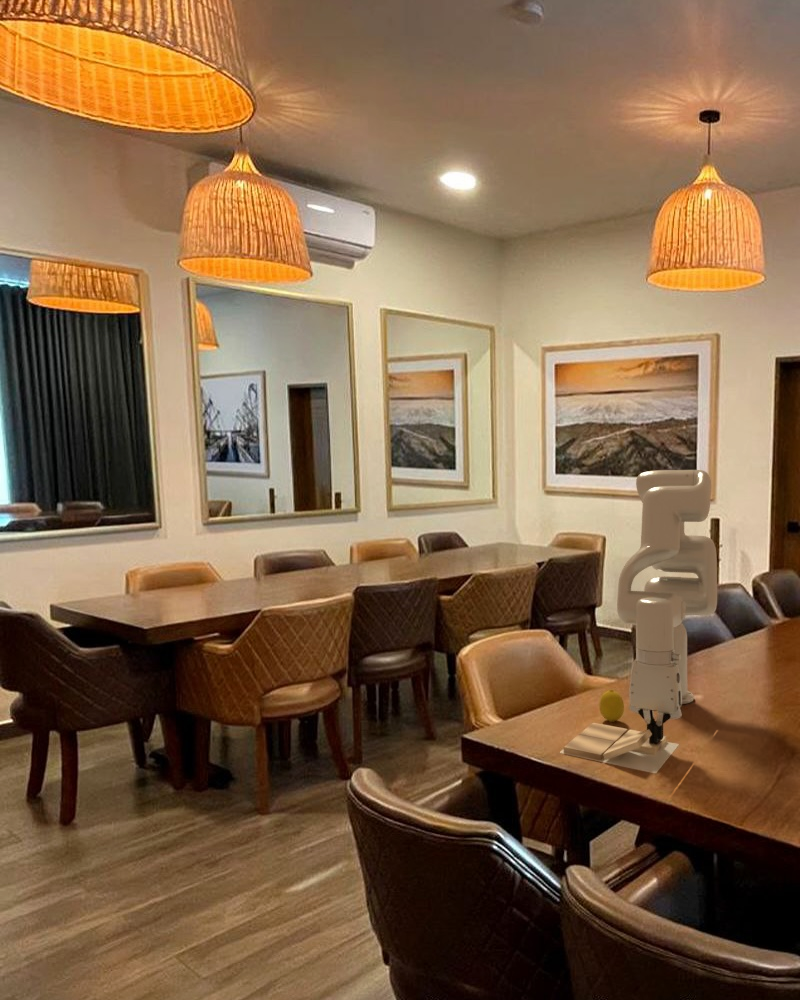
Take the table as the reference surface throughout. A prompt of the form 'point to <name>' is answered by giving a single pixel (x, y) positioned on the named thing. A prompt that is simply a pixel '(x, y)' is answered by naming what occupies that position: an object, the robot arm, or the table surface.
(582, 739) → the row
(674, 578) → the robot arm
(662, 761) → the underlay mat
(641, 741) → the plank near
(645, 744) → the plank far
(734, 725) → the table surface
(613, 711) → the lemon
